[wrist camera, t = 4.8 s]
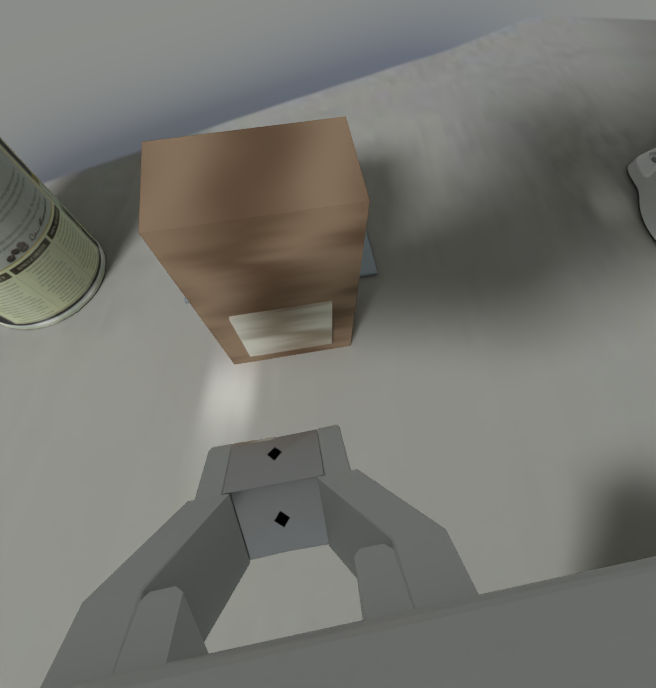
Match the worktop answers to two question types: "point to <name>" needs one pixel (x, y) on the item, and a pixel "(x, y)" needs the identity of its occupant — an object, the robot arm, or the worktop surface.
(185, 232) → the cardboard box
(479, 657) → the robot arm
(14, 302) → the coffee can
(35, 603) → the worktop surface
